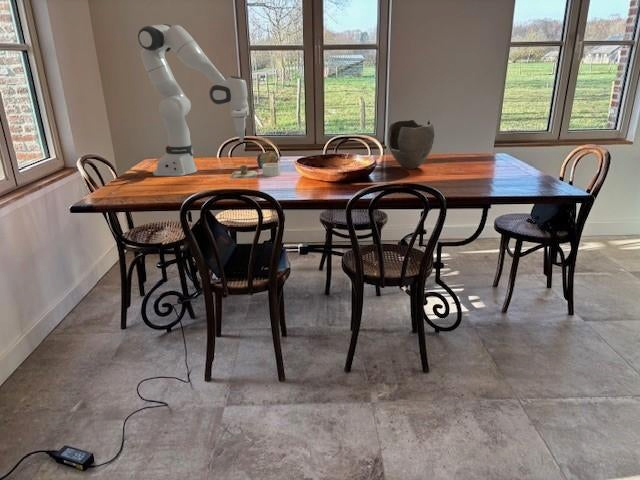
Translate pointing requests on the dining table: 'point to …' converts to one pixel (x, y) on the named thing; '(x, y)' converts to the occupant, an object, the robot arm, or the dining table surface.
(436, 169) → the dining table surface
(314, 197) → the dining table surface
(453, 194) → the dining table surface
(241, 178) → the mat
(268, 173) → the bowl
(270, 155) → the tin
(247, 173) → the lid
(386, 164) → the dining table surface
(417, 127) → the clay pot
